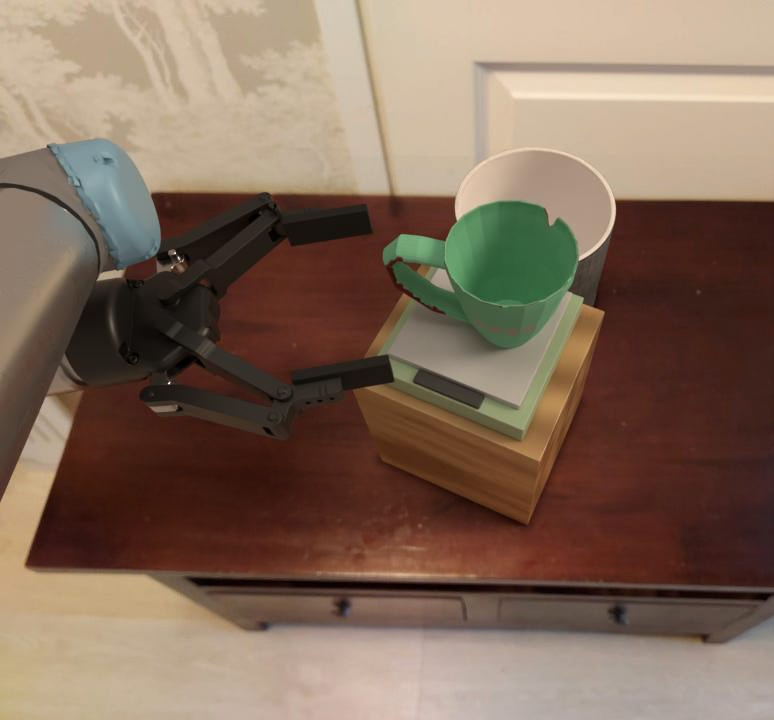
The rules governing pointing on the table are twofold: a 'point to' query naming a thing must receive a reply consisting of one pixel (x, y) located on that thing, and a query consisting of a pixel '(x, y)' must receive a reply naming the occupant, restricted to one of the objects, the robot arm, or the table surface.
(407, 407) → the riser
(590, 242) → the planter
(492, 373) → the scale
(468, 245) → the mug
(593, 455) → the table surface
